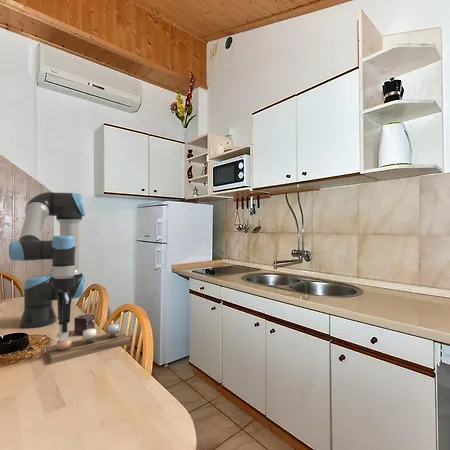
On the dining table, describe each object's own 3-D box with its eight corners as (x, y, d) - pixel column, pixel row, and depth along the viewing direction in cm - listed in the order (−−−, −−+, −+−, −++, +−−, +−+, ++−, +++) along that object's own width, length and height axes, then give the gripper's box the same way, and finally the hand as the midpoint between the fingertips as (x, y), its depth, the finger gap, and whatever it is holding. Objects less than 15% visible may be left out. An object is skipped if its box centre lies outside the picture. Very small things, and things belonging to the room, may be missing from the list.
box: (86, 335, 130) (85, 318, 130) (73, 334, 131) (73, 317, 131) (94, 330, 136) (94, 314, 136) (83, 329, 137) (83, 313, 137)
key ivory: (81, 341, 117) (81, 330, 117) (94, 338, 120) (94, 327, 120) (84, 345, 113) (84, 333, 113) (97, 342, 116) (97, 330, 116)
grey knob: (105, 336, 123) (104, 325, 123) (116, 333, 126) (116, 323, 126) (108, 339, 119) (108, 328, 119) (120, 336, 122) (120, 326, 122)
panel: (45, 352, 112) (45, 347, 112) (119, 335, 130) (119, 330, 130) (51, 363, 103) (51, 357, 103) (130, 343, 121) (130, 338, 121)
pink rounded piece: (55, 352, 111) (55, 340, 111) (69, 349, 114) (69, 337, 114) (57, 356, 108) (57, 344, 108) (72, 353, 111) (72, 341, 111)
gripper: (49, 275, 114) (49, 337, 114) (55, 280, 104) (55, 348, 103) (70, 273, 119) (70, 333, 118) (79, 278, 108) (79, 343, 108)
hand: (63, 340), depth 111 cm, fingers closed
